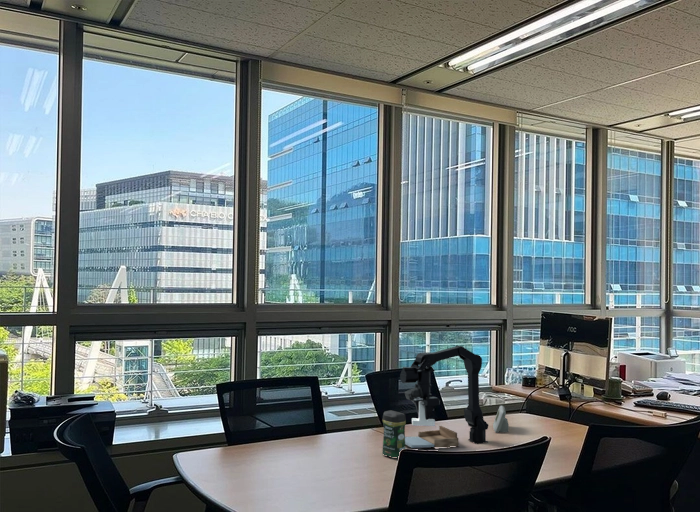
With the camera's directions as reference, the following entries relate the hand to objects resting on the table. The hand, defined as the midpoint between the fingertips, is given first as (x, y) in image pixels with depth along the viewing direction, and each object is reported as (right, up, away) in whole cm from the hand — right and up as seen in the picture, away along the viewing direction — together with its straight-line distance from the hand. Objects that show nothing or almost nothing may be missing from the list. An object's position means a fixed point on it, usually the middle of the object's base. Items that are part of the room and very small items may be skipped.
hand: (423, 417), depth 270 cm
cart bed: (+7, -13, +6) cm, 16 cm away
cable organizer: (0, -3, 0) cm, 3 cm away
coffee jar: (-14, -12, -14) cm, 23 cm away
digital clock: (+41, -15, +33) cm, 55 cm away
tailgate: (+2, -11, +4) cm, 12 cm away
